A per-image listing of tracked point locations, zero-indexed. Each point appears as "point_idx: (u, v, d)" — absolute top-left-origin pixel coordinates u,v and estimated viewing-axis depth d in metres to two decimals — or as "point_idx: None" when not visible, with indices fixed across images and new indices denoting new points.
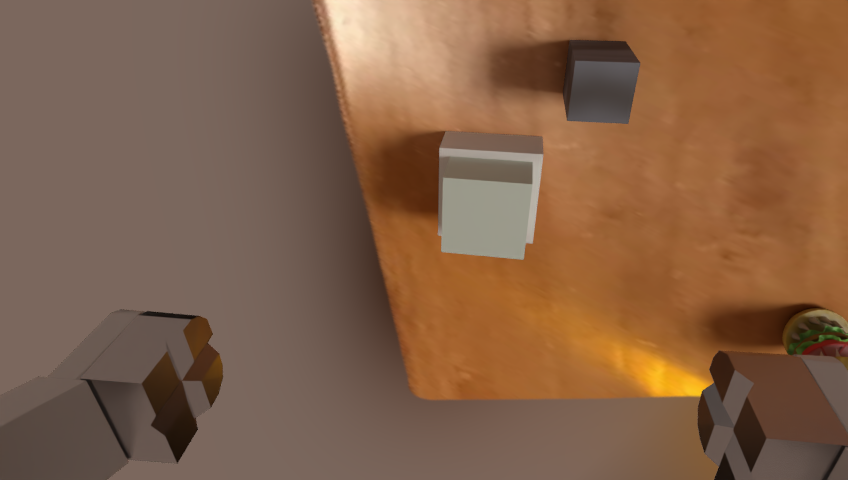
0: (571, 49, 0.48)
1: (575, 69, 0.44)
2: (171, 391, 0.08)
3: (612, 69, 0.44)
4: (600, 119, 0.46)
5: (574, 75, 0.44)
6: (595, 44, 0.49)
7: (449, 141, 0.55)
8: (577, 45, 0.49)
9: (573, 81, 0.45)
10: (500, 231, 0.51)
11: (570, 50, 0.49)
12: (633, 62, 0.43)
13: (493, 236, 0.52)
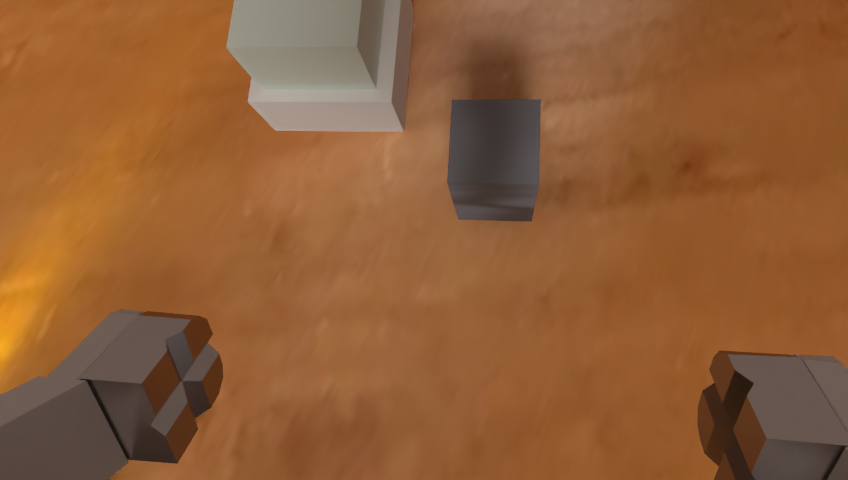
0: None
1: (528, 101, 0.31)
2: (171, 391, 0.08)
3: (528, 149, 0.30)
4: (454, 143, 0.31)
5: (519, 101, 0.31)
6: None
7: None
8: None
9: (510, 101, 0.31)
10: (277, 11, 0.32)
11: None
12: None
13: (270, 1, 0.33)
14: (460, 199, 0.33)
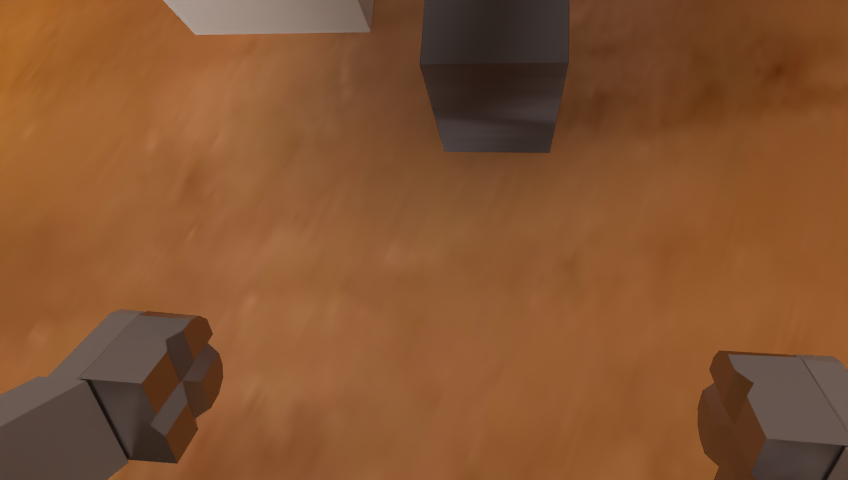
0: None
1: None
2: (171, 391, 0.08)
3: (551, 8, 0.19)
4: (431, 5, 0.19)
5: None
6: None
7: None
8: None
9: None
10: None
11: None
12: None
13: None
14: (444, 106, 0.22)
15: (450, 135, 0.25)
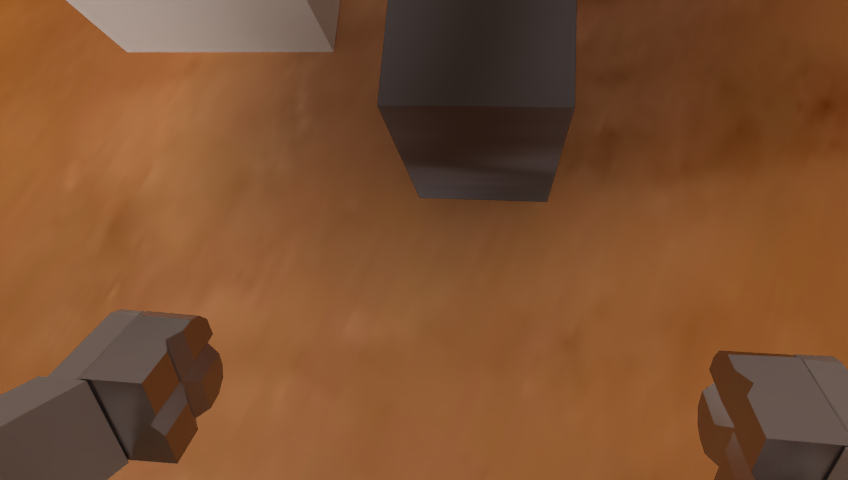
0: None
1: None
2: (171, 391, 0.08)
3: (552, 34, 0.14)
4: (394, 26, 0.15)
5: None
6: None
7: None
8: None
9: None
10: None
11: None
12: None
13: None
14: (414, 152, 0.17)
15: (425, 182, 0.20)
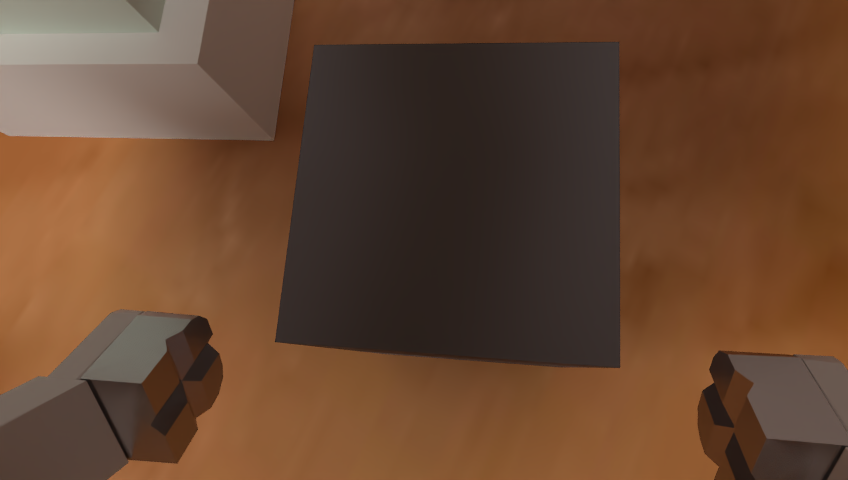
0: None
1: (573, 48, 0.09)
2: (171, 391, 0.08)
3: (578, 223, 0.08)
4: (309, 197, 0.09)
5: (542, 47, 0.09)
6: None
7: None
8: None
9: (511, 48, 0.09)
10: None
11: None
12: (616, 332, 0.08)
13: None
14: (359, 350, 0.11)
15: (386, 353, 0.14)
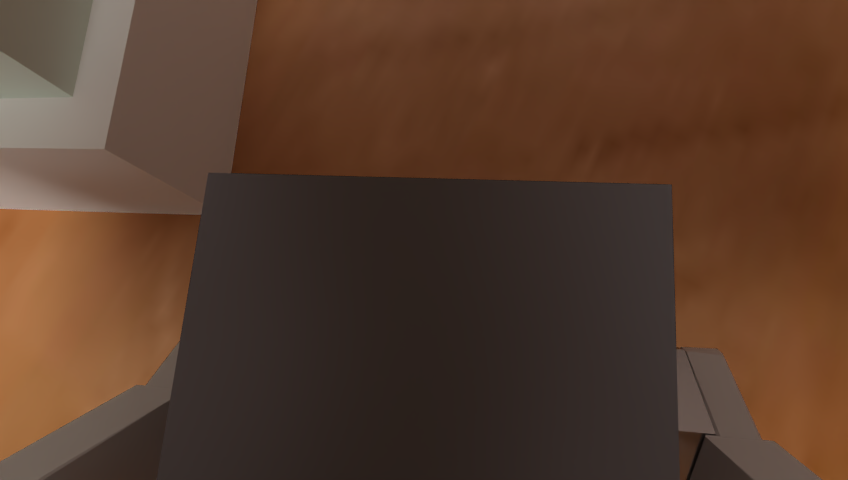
0: None
1: (600, 192, 0.06)
2: None
3: None
4: (188, 423, 0.06)
5: (552, 189, 0.06)
6: None
7: None
8: None
9: (503, 188, 0.06)
10: None
11: None
12: None
13: None
14: None
15: None
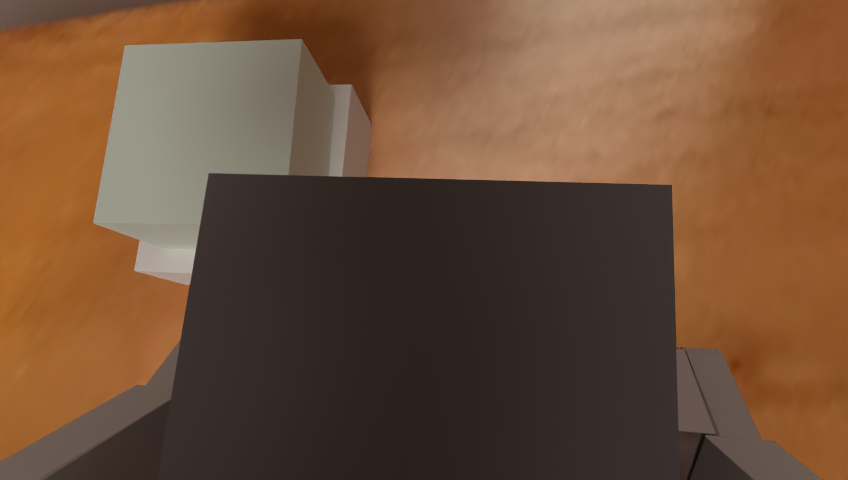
0: None
1: (600, 192, 0.06)
2: None
3: None
4: (189, 424, 0.06)
5: (552, 189, 0.06)
6: None
7: (358, 114, 0.29)
8: None
9: (503, 188, 0.06)
10: (168, 166, 0.22)
11: None
12: None
13: (157, 151, 0.22)
14: None
15: None
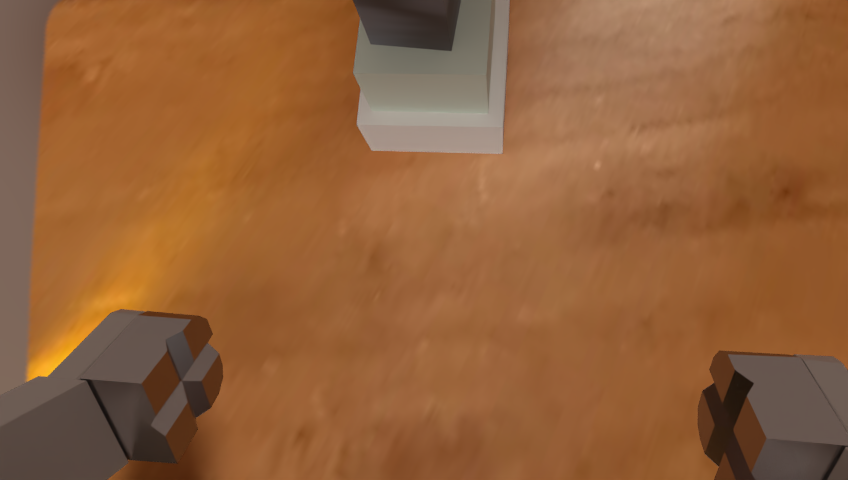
0: None
1: None
2: (171, 391, 0.08)
3: None
4: None
5: None
6: None
7: None
8: None
9: None
10: None
11: None
12: None
13: None
14: None
15: (370, 25, 0.31)
